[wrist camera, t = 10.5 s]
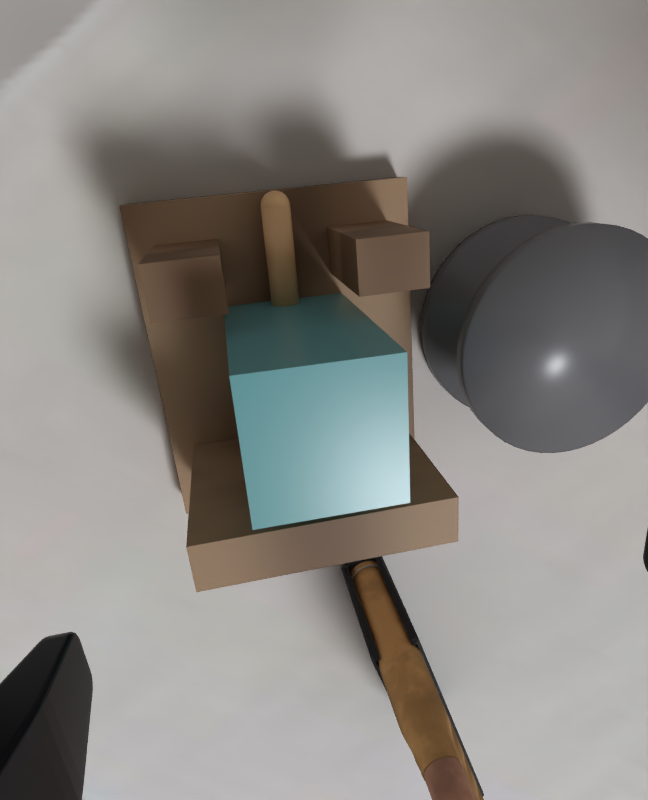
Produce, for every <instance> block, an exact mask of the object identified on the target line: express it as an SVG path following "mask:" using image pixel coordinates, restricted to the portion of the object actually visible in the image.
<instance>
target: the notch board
mask: <svg viewBox="0 0 648 800" xmlns="http://www.w3.org/2000/svg"><path fill="white" fill-rule="evenodd" d="M270 191H280V192H282V193H284V194H285V195H286V196H287V198H288V199H289V202H290V209H291V219H292V230H293V240H294V251H295V262H296V272H297V283H298V293H299V298H302V297H311V296H320V295H328V294H337V293H342V294H343V295H344V296H346V297H347V298H348V299H349V300H350V301H351V302H352V303H353V304H354V305H356V306H357V307H358V308H359V309H360V310H361V311H362V312H363V313H364V314H366V315H367V316H368V317H369V318H370V319H371V320H372V321H373V322H374V323H375V324H377V325H378V326H379V327H380V328H381V329H382V330H383V331H384V332H385V333H387V334H388V335H389V336H390V337H391V338H392V339H393V340H394V341H395V342H396V343H398V344H399V345H400V346H401V347H402V348H403V349H404V350H405V351H406V352H407V364H408V413H409V463H410V503H406V504H400V505H395V506H389V507H383V508H377V509H371V510H366V511H360V512H354V513H348V514H343V515H337V516H331V517H325V518H319V519H314V520H308V521H302V522H296V523H291V524H285V525H279V526H273V527H267V528H262V529H256V530H253V529H252V523H251V516H250V510H249V503H248V496H247V490H246V483H245V477H244V470H243V463H242V457H241V450H240V443H239V437H238V430H237V424H236V417H235V410H234V404H233V397H232V391H231V384H230V377H229V367H228V355H227V343H226V331H225V320H224V314H229V310H228V306H233V305H242V304H251V303H259V302H268V301H271V294H270V285H269V276H268V267H267V259H266V250H265V241H264V232H263V223H262V215H261V201H262V198H263V197H264V195H265V194H266V193H268V192H270ZM120 211H121V215H122V220H123V224H124V229H125V234H126V238H127V243H128V247H129V252H130V257H131V261H132V266H133V270H134V275H135V280H136V284H137V289H138V293H139V298H140V303H141V307H142V312H143V316H144V321H145V326H146V330H147V335H148V340H149V344H150V349H151V353H152V358H153V363H154V367H155V372H156V376H157V381H158V386H159V390H160V395H161V399H162V404H163V409H164V413H165V418H166V422H167V427H168V432H169V436H170V441H171V445H172V450H173V455H174V459H175V464H176V469H177V473H178V478H179V482H180V487H181V492H182V496H183V501H184V505H185V510H186V514H187V513H189V517H188V532H187V546H186V547H187V552H188V556H189V561H190V565H191V570H192V574H193V579H194V583H195V588H196V592H200V591H205V590H210V589H215V588H220V587H225V586H231V585H236V584H241V583H246V582H251V581H256V580H261V579H267V578H272V577H277V576H282V575H287V574H292V573H297V572H303V571H308V570H313V569H318V568H323V567H328V566H333V565H338V564H344V563H349V562H354V561H359V560H364V559H369V558H374V557H380V556H385V555H390V554H395V553H400V552H405V551H410V550H416V549H421V548H426V547H431V546H436V545H441V544H446V543H452V542H457V541H458V496H457V495H456V493H455V492H454V491H453V489H452V488H451V487H450V485H449V484H448V483H447V482H446V480H445V479H444V478H443V476H442V475H441V474H440V472H439V471H438V470H437V468H436V467H435V466H434V465H433V463H432V462H431V461H430V459H429V458H428V457H427V455H426V454H425V453H424V452H423V450H422V449H421V448H420V446H419V445H418V444H417V442H416V441H415V440H414V410H413V374H412V338H411V302H410V290H417V289H425V288H430V232H429V231H427V230H423V229H419V228H415V227H411V226H408V193H407V177H395V178H385V179H375V180H365V181H354V182H344V183H334V184H324V185H314V186H304V187H294V188H284V189H274V190H264V191H254V192H244V193H234V194H224V195H214V196H204V197H194V198H184V199H174V200H164V201H154V202H144V203H133V204H124V205H121V206H120Z"/></svg>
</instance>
